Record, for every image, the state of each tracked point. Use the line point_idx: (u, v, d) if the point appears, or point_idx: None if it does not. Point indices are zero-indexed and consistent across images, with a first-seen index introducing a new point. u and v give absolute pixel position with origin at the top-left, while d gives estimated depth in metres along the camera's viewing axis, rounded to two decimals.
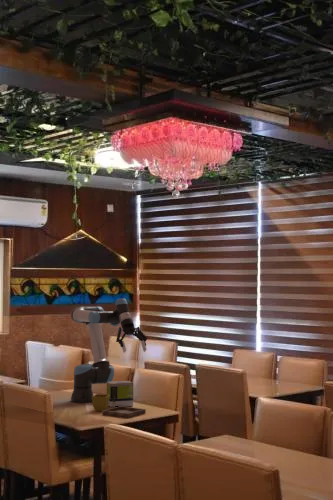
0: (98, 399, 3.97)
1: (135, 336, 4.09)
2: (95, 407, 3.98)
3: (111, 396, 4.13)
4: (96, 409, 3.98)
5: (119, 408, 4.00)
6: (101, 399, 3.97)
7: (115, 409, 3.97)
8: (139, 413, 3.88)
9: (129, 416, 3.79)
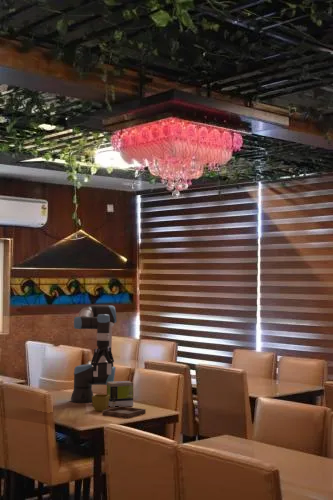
0: (98, 399, 3.97)
1: (104, 356, 4.07)
2: (95, 407, 3.98)
3: (111, 396, 4.13)
4: (96, 409, 3.98)
5: (119, 408, 4.00)
6: (101, 399, 3.97)
7: (115, 409, 3.97)
8: (139, 413, 3.88)
9: (129, 416, 3.79)
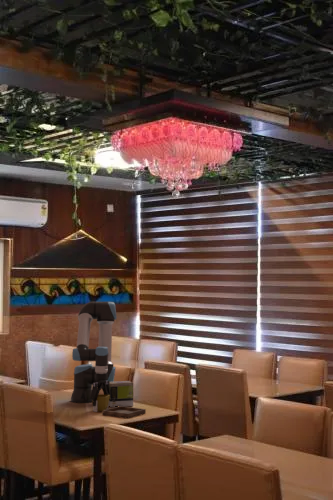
0: (98, 399, 3.97)
1: (102, 389, 4.05)
2: None
3: (111, 396, 4.13)
4: None
5: (119, 408, 4.00)
6: (101, 399, 3.97)
7: (115, 409, 3.97)
8: (139, 413, 3.88)
9: (129, 416, 3.79)
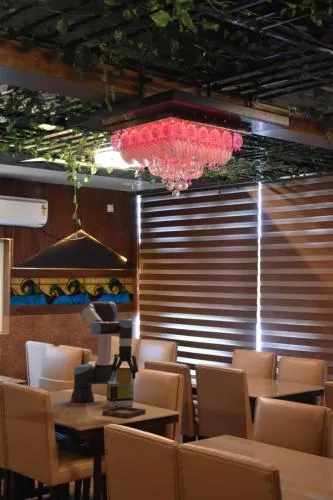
0: None
1: None
2: None
3: (111, 396, 4.13)
4: None
5: (119, 408, 4.00)
6: None
7: (115, 409, 3.97)
8: (139, 413, 3.88)
9: (129, 416, 3.79)
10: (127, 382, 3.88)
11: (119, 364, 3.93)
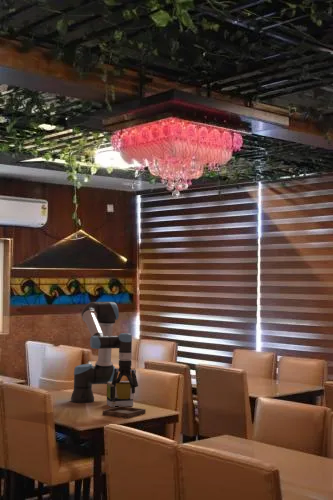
0: None
1: None
2: None
3: (111, 396, 4.13)
4: None
5: (119, 408, 4.00)
6: None
7: (115, 409, 3.97)
8: (139, 413, 3.88)
9: (129, 416, 3.79)
10: (127, 397, 3.88)
11: (119, 378, 3.93)
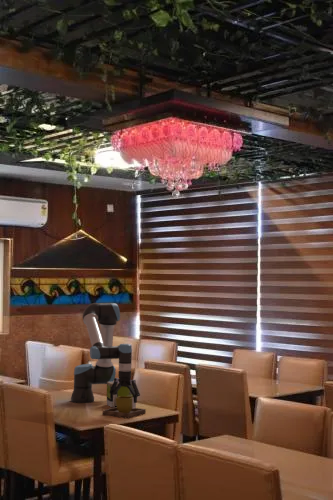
0: None
1: None
2: None
3: (111, 396, 4.13)
4: None
5: None
6: None
7: (115, 409, 3.97)
8: (139, 413, 3.88)
9: (129, 416, 3.79)
10: (126, 411, 3.87)
11: (118, 388, 3.93)
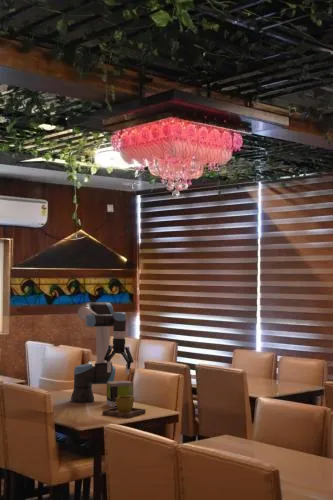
0: None
1: None
2: None
3: (111, 396, 4.13)
4: None
5: None
6: None
7: (115, 409, 3.97)
8: (139, 413, 3.88)
9: (129, 416, 3.79)
10: (126, 411, 3.87)
11: (112, 355, 4.04)
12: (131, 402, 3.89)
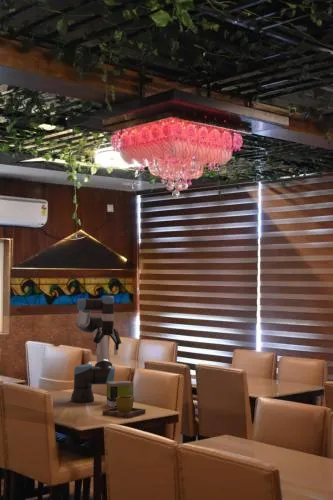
0: None
1: None
2: None
3: (111, 396, 4.13)
4: None
5: None
6: None
7: (115, 409, 3.97)
8: (139, 413, 3.88)
9: (129, 416, 3.79)
10: (126, 411, 3.87)
11: (101, 337, 4.23)
12: (131, 402, 3.89)
